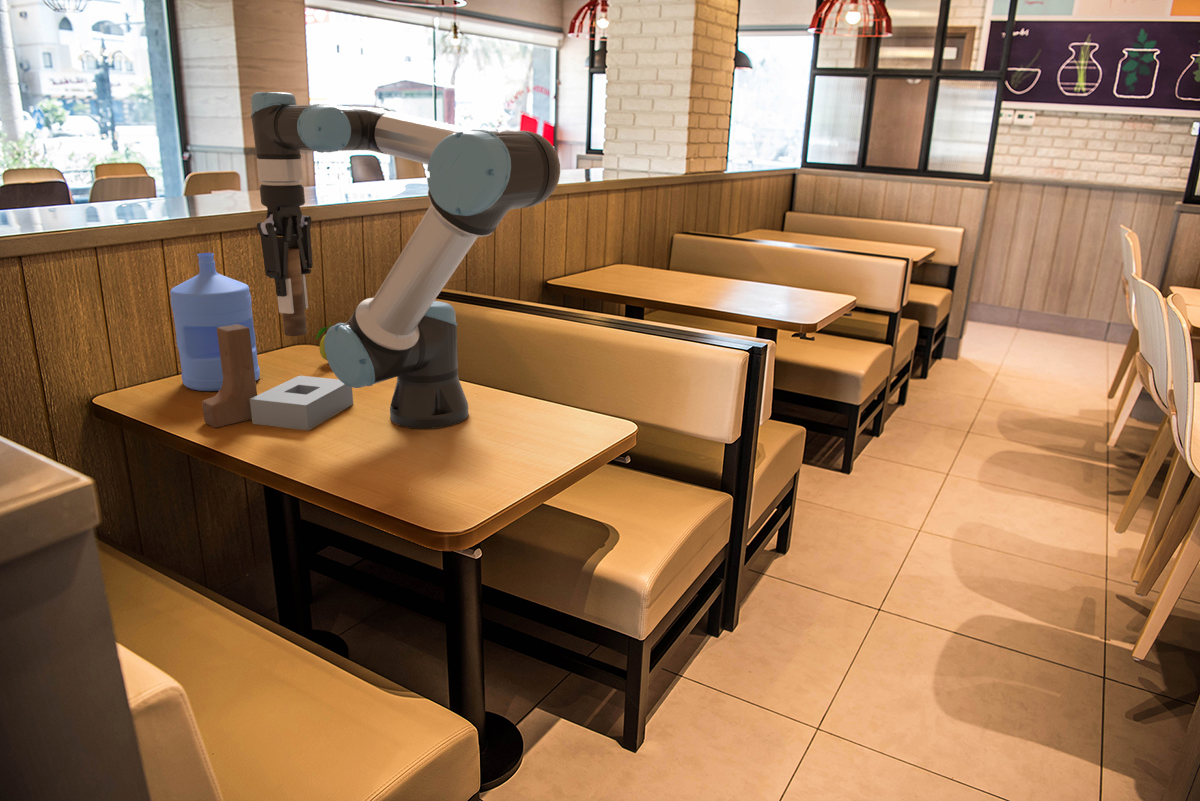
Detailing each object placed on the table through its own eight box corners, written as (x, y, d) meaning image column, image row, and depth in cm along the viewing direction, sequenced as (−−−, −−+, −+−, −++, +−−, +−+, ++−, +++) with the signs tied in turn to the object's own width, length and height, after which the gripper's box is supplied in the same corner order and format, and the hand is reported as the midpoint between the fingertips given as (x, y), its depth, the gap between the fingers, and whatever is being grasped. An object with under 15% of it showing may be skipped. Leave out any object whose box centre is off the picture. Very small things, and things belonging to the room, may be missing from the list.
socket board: (301, 398, 172) (299, 375, 170) (353, 404, 169) (351, 380, 168) (252, 423, 157) (249, 398, 156) (308, 430, 154) (305, 405, 153)
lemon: (318, 367, 193) (314, 326, 190) (317, 361, 198) (314, 320, 195) (348, 365, 195) (344, 324, 192) (346, 359, 200) (343, 319, 197)
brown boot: (214, 429, 154) (201, 335, 148) (203, 423, 157) (190, 331, 151) (260, 417, 161) (250, 327, 155) (250, 412, 163) (239, 323, 158)
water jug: (173, 379, 182) (153, 252, 173) (245, 367, 192) (230, 246, 183) (196, 397, 171) (177, 262, 162) (271, 383, 181) (257, 255, 172)
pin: (311, 332, 159) (303, 248, 154) (299, 336, 156) (290, 251, 151) (292, 330, 160) (284, 247, 155) (280, 335, 157) (271, 250, 152)
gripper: (291, 179, 158) (302, 300, 165) (232, 185, 142) (247, 318, 150) (325, 181, 156) (335, 302, 164) (270, 187, 140) (284, 321, 148)
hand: (293, 310), depth 157 cm, fingers closed on pin, 4 cm apart
